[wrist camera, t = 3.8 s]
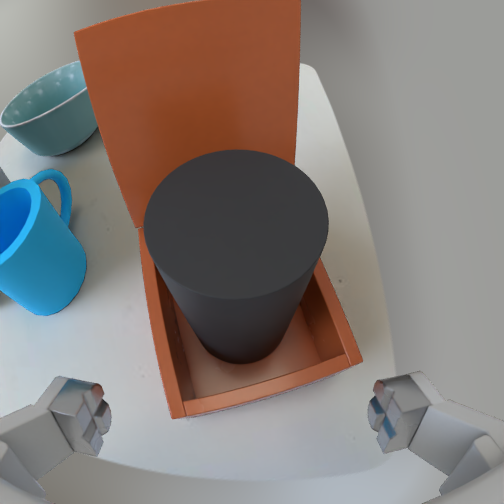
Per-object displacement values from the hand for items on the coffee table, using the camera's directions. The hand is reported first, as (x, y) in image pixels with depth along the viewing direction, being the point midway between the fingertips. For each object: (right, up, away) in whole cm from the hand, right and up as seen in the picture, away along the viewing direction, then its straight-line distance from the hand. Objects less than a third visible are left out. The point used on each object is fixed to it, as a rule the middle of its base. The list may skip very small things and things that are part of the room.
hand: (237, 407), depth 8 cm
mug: (-18, +4, +16) cm, 24 cm away
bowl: (-24, +20, +25) cm, 41 cm away
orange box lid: (-2, +11, +6) cm, 13 cm away
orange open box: (0, -1, +14) cm, 14 cm away
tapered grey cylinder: (0, +3, +8) cm, 8 cm away
